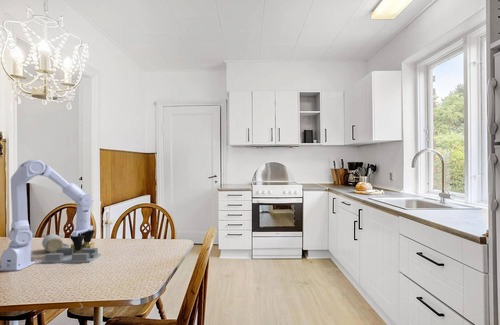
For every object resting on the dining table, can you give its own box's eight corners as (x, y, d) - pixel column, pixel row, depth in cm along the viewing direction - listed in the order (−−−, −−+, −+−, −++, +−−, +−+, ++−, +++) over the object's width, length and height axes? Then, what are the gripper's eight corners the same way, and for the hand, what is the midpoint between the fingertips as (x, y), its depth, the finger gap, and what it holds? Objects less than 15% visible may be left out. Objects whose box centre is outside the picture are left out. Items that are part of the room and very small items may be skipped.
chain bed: (89, 262, 119) (89, 254, 119) (41, 262, 118) (41, 254, 118) (100, 255, 129) (101, 248, 129) (56, 255, 128) (56, 248, 128)
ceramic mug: (45, 254, 129) (46, 238, 129) (41, 250, 135) (42, 234, 135) (71, 250, 137) (72, 234, 137) (66, 247, 142) (67, 232, 143)
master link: (90, 255, 130) (90, 243, 130) (70, 255, 129) (70, 243, 129) (93, 252, 133) (94, 241, 133) (74, 252, 133) (75, 241, 133)
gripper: (83, 222, 125) (82, 252, 124) (99, 216, 139) (98, 243, 139) (67, 222, 124) (66, 252, 124) (85, 216, 139) (84, 243, 138)
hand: (82, 248), depth 131 cm, fingers open, 7 cm apart
